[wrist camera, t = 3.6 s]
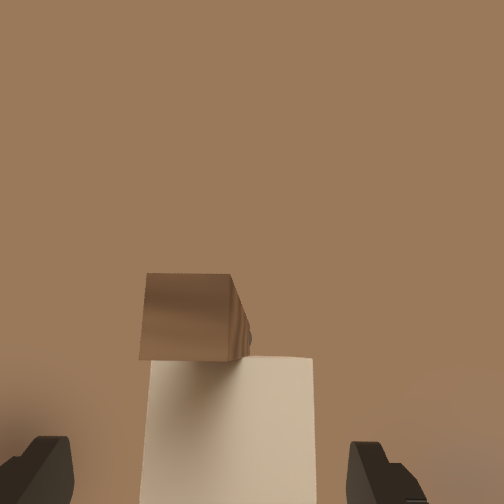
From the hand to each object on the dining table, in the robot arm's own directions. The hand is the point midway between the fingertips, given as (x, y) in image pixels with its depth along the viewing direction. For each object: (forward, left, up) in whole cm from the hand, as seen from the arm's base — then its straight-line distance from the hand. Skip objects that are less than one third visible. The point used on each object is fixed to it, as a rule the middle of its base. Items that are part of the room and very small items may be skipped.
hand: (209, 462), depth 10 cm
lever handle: (-12, +8, +3) cm, 15 cm away
